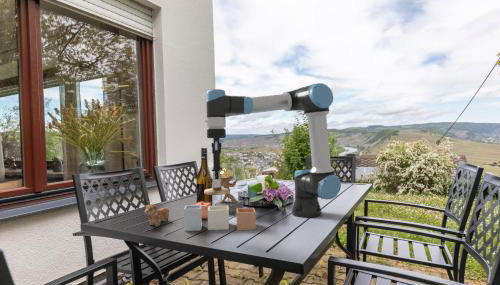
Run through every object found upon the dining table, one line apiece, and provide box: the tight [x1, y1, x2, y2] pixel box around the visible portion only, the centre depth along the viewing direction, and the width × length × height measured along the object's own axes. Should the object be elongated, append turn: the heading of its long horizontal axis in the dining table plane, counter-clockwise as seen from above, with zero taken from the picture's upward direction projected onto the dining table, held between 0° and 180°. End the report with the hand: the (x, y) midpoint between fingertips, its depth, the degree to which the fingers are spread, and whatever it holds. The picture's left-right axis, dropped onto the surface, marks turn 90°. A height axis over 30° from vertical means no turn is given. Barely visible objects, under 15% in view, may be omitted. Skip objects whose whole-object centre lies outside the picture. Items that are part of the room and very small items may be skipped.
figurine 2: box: [214, 166, 244, 216], centre depth 160 cm, size 14×11×25 cm
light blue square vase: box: [183, 204, 203, 232], centre depth 132 cm, size 7×7×10 cm
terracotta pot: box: [235, 207, 257, 231], centre depth 133 cm, size 8×8×8 cm
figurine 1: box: [143, 204, 170, 227], centre depth 142 cm, size 7×16×10 cm, turn 158°
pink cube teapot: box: [194, 201, 212, 219], centre depth 151 cm, size 8×12×8 cm, turn 83°
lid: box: [203, 171, 231, 196], centre depth 122 cm, size 10×10×8 cm
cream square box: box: [207, 205, 230, 231], centre depth 134 cm, size 9×9×9 cm
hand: (217, 186), depth 122 cm, fingers closed on lid, 3 cm apart
